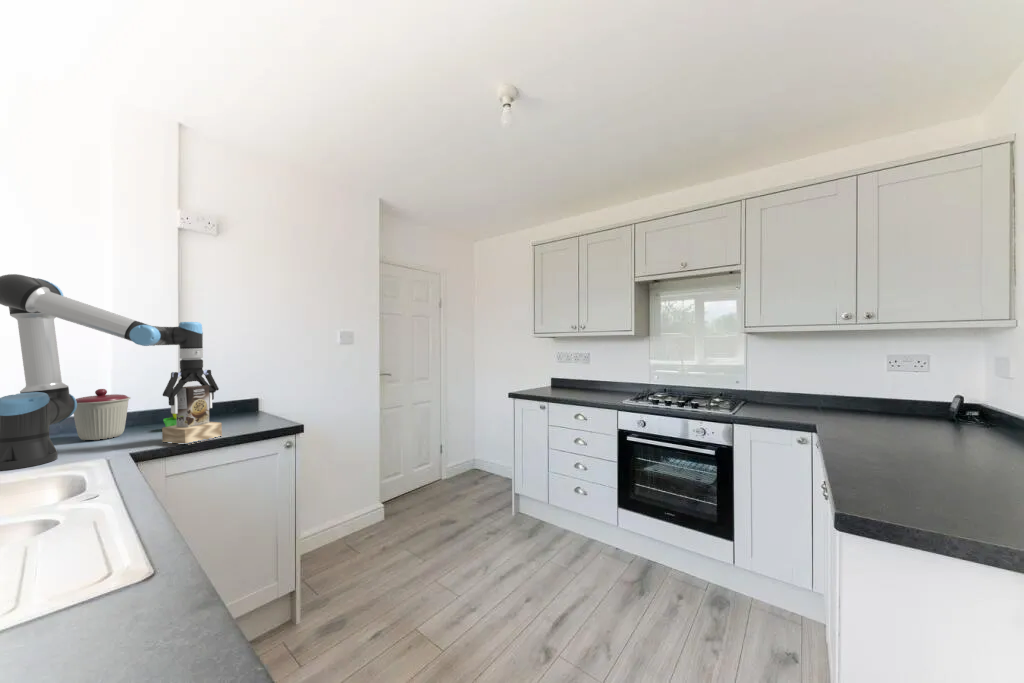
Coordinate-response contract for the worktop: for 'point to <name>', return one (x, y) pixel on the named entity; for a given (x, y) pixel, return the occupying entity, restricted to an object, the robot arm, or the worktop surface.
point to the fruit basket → (170, 420)
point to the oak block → (191, 432)
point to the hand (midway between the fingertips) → (192, 410)
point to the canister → (101, 415)
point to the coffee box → (193, 406)
